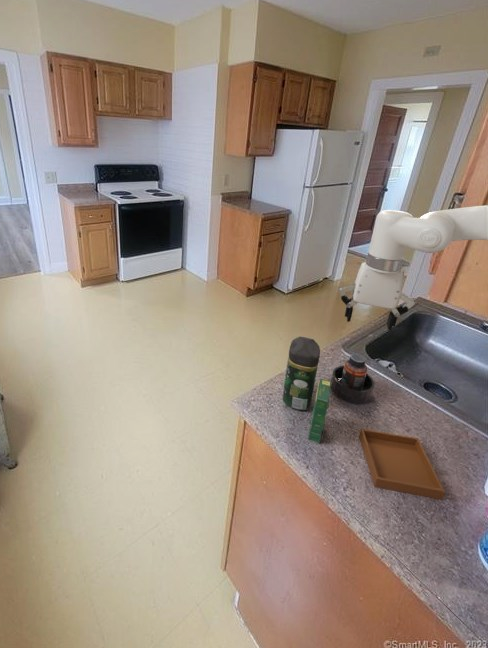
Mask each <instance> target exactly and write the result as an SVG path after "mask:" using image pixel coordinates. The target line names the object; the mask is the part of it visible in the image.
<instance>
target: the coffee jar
mask: <svg viewBox="0 0 488 648" xmlns="http://www.w3.org/2000/svg"><path fill="white" fill-rule="evenodd" d="M320 358H321V347H320V345H319V343H317V341H315V339H313V338H310V337H306V336H298V337H296V338H295V337H294V338H293V339H292V340H291V342H290V346H289V350H288V356H287V362H286V369H285V378H284V384H283V385H284V386H283V391H282V392H283V393H282V401H283V403H284V404H285V405H286V406H287V407H289V408H291V409H294V410H297V411H307V410H309V409H310V407H311V404H312V400H313V394H314V388H315V383H316V378H317V371H318V368H319V367H318V366H319V362H320Z"/></svg>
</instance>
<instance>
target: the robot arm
mask: <svg viewBox="0 0 488 648" xmlns="http://www.w3.org/2000/svg"><path fill="white" fill-rule="evenodd" d="M457 241H460V242H461V241H488V205H474V206H466V207H457V208H449V209H442V210H435V211H431V212H428V213H425V214H423V215H422V216H420V217H414V216H413V214H411V213H409V212H406V211H401V210H395V209H394V210H393V209H385V210H381V211H379V212H378V213H377V214H376V218H375V221H374V225H373V231H372V235H371V239H370V244H369V247H368V252H367V256H366V261H363V262H362V263H361V265H360V266H359V269H358V272H357V275H356V278H355V281H354V283H353V284H348V285H344V286H340V287H339V288H338V294H339V296H340V299H341V301H342V302H343V304H344V305H345V312H344V317H345V318H346V322H348V323H350V322H351V320H352V316H353V311H354V306H355V305H357V304H362V305H366V306H371V307H376V308H382V309H390V311H389V314H388V318H387V321H386V327H387V330H388V331H392V329H393V327H396V323H397V320H398V318H400V317H401V315H403V314H406V313H407V312H409V310H410V309H411V308H412V307H414V306H415V304H416V302H415V301H414V299H412V298H411V297H409V296H408V295H406V294H405V293H404V292H402V287H403V279H404V278H403V277H404V271H403V269H402V268H403V267H409V266H410V260H406V259H404V258H405V255H406V250H407V248H408V249H412V250H413V251H417V252H421V253H426V254H436V253H440V252H442V251H444V250H446V249H447V248H448V247H449V245H450V244H451V243H452V242H457ZM350 292H352V296H350V297H348V295H347V294H346V293H350ZM400 300H401V301H402V302H404V304H402V305H400V306H398V305H399V302H400Z"/></svg>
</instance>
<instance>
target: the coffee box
mask: <svg viewBox="0 0 488 648" xmlns="http://www.w3.org/2000/svg"><path fill="white" fill-rule="evenodd" d="M330 383H331V380H326V379H323V378H319V380H318V385H317V389H316V394H315V399H314V405H313V410H312V415H311V421H310V427H309V432H308V437H307V438H308V441H310V442H312V443H315V444H320V443H321V438H322V433H323V428H324V424H325V419H326V416H327V415H326V414H327V410H328V406H329V400H330V392H331V387H330Z"/></svg>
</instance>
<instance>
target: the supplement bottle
mask: <svg viewBox="0 0 488 648" xmlns="http://www.w3.org/2000/svg"><path fill="white" fill-rule="evenodd" d="M343 366H344V370H343V374H342V379H341V384H343V385H344V386H346V387H348V388H351V389H354V390H359V391H362V389H363V385H364V381H365V377H366V373H367V374H368V366H367V365H366V357H364V356H363V355H361V354H359V353H351V354H350V356H349V358H347V360H346V361H345V362H344V365H343Z"/></svg>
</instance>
